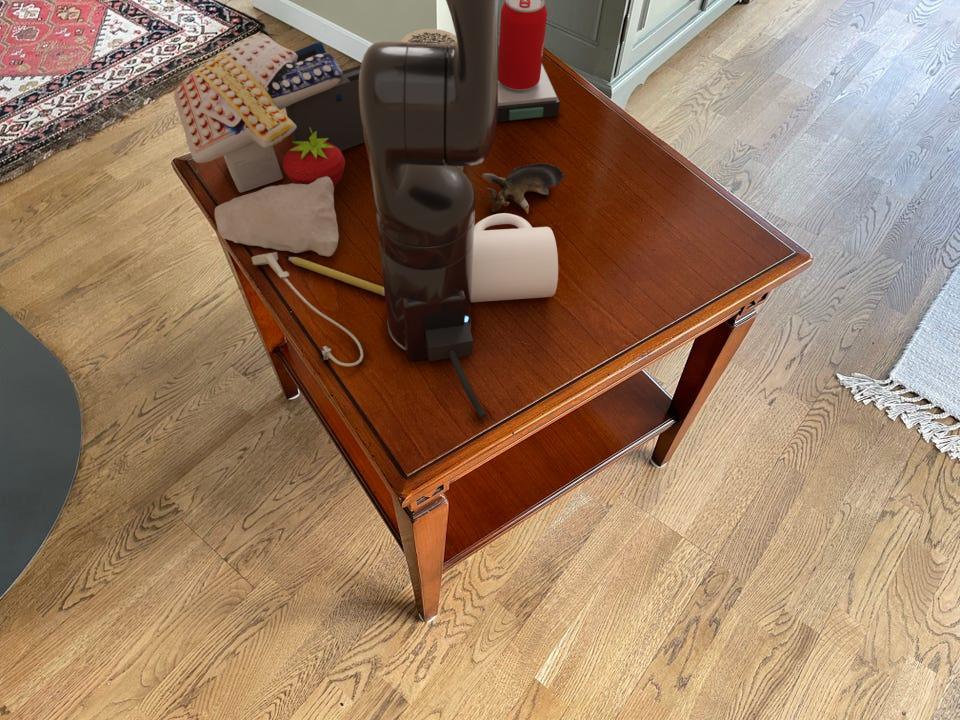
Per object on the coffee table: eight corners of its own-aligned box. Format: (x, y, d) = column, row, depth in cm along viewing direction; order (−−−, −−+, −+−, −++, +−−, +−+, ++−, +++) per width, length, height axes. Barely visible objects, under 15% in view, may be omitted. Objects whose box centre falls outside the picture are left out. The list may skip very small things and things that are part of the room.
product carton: (284, 179, 93) (270, 133, 87) (239, 194, 91) (222, 148, 85) (270, 152, 96) (255, 105, 90) (226, 165, 94) (208, 119, 88)
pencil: (287, 256, 85) (285, 250, 84) (391, 293, 82) (390, 287, 82) (282, 262, 85) (281, 256, 84) (387, 299, 82) (386, 293, 81)
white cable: (364, 376, 79) (289, 251, 87) (370, 358, 76) (292, 231, 84) (321, 391, 76) (246, 260, 84) (325, 373, 74) (248, 240, 81)
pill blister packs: (361, 90, 88) (279, 31, 92) (352, 56, 83) (265, -5, 86) (236, 202, 83) (154, 134, 86) (218, 173, 78) (132, 102, 81)
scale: (558, 118, 103) (561, 100, 100) (492, 125, 101) (493, 106, 99) (540, 76, 109) (542, 58, 106) (477, 82, 107) (477, 64, 105)
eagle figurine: (520, 231, 87) (574, 192, 89) (496, 181, 84) (552, 141, 86) (491, 224, 94) (541, 187, 96) (467, 177, 90) (520, 140, 92)
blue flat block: (344, 100, 90) (338, 102, 90) (311, 106, 102) (307, 108, 101) (322, 40, 87) (316, 42, 87) (291, 53, 99) (286, 55, 98)
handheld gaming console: (437, 102, 104) (436, 38, 95) (447, 112, 102) (447, 48, 94) (294, 155, 96) (279, 89, 87) (302, 166, 94) (289, 100, 86)
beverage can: (540, 71, 104) (550, -11, 95) (538, 96, 101) (548, 14, 91) (498, 67, 104) (503, -15, 95) (494, 92, 101) (499, 10, 91)
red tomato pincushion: (290, 184, 92) (274, 119, 84) (347, 179, 93) (338, 113, 85) (291, 215, 89) (276, 151, 81) (351, 209, 90) (342, 145, 82)
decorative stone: (339, 181, 87) (219, 188, 87) (332, 171, 83) (205, 179, 83) (344, 259, 87) (223, 266, 87) (336, 254, 83) (209, 261, 83)
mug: (552, 310, 82) (562, 263, 75) (467, 317, 81) (469, 269, 74) (535, 237, 89) (542, 188, 82) (456, 242, 88) (457, 192, 81)
